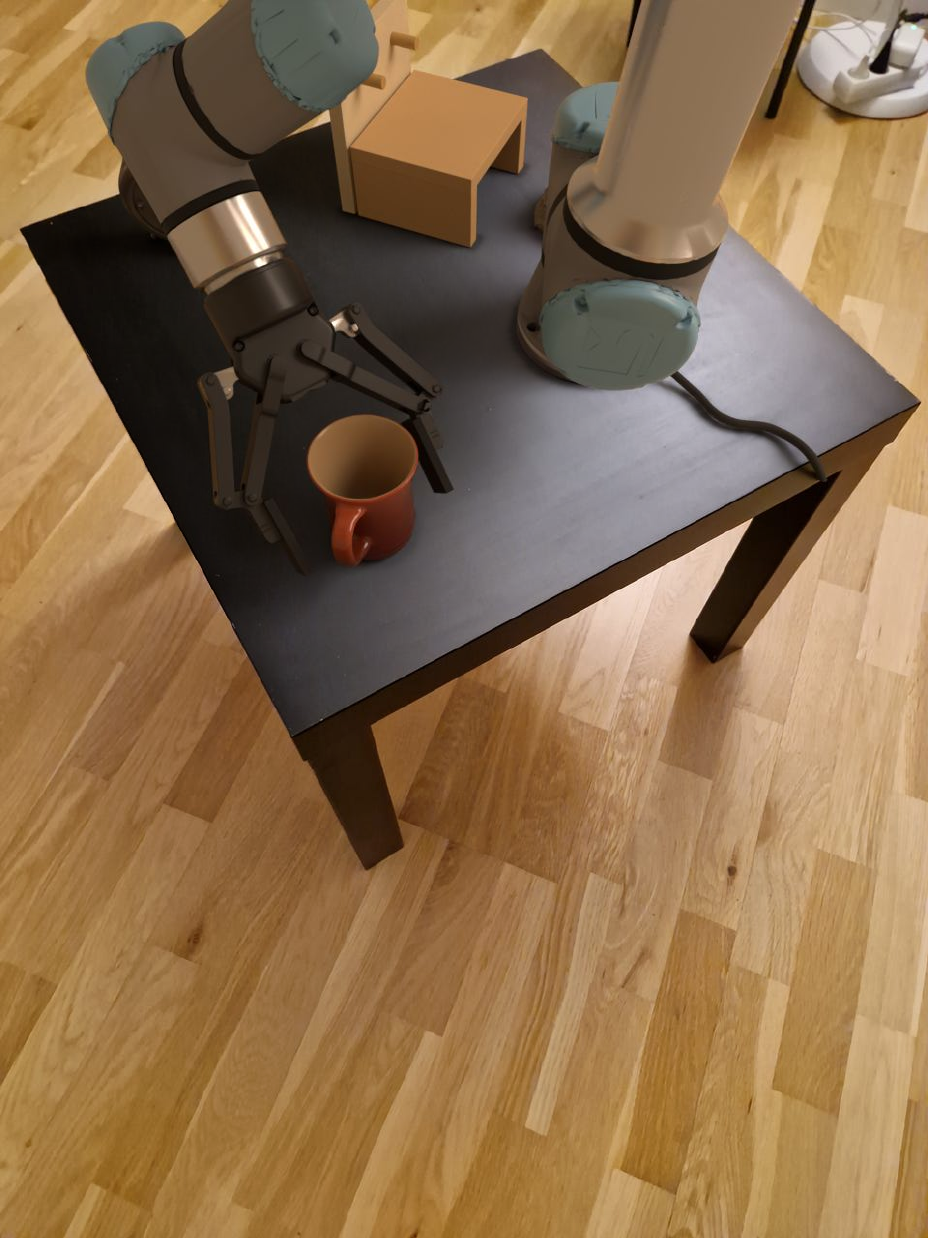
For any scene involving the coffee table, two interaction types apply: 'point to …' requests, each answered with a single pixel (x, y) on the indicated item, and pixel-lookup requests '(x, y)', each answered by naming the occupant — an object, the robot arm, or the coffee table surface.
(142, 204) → the alarm clock
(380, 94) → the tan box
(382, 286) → the coffee table surface
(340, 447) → the mug
